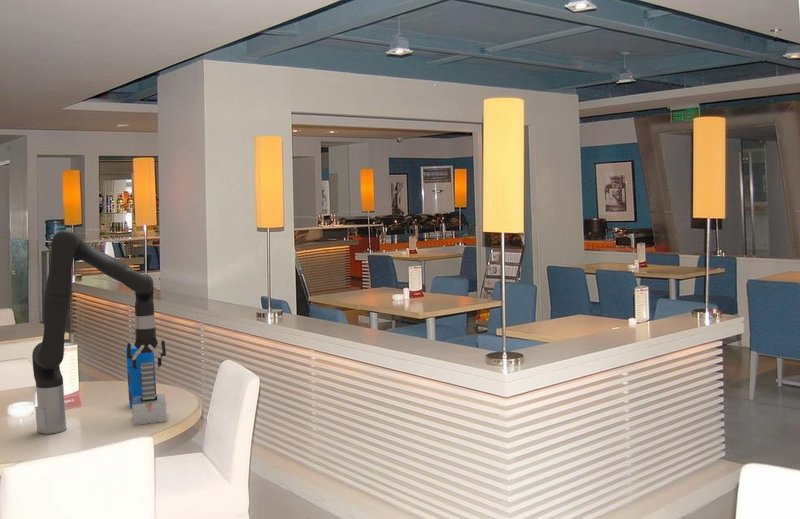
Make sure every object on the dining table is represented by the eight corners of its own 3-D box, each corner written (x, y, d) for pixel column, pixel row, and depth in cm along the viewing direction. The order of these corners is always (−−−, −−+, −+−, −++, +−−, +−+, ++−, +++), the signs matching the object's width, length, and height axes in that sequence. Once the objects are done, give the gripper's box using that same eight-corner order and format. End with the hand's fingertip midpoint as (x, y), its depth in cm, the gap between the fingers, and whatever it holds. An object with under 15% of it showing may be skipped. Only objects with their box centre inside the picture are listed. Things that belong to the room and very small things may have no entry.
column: (155, 405, 303) (153, 364, 301) (143, 406, 302) (140, 365, 300) (155, 402, 307) (153, 361, 306) (143, 403, 306) (140, 362, 304)
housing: (166, 422, 300) (165, 401, 300) (133, 425, 297) (132, 405, 296) (165, 413, 312) (164, 393, 312) (134, 416, 309) (132, 396, 308)
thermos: (161, 402, 329) (157, 343, 327) (150, 409, 319) (147, 348, 316) (136, 401, 330) (132, 343, 328) (124, 409, 320) (121, 348, 317)
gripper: (164, 323, 307) (166, 364, 309) (126, 326, 303) (128, 367, 304) (164, 326, 300) (166, 368, 301) (125, 329, 296) (127, 371, 297)
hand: (147, 368), depth 303 cm, fingers open, 8 cm apart
